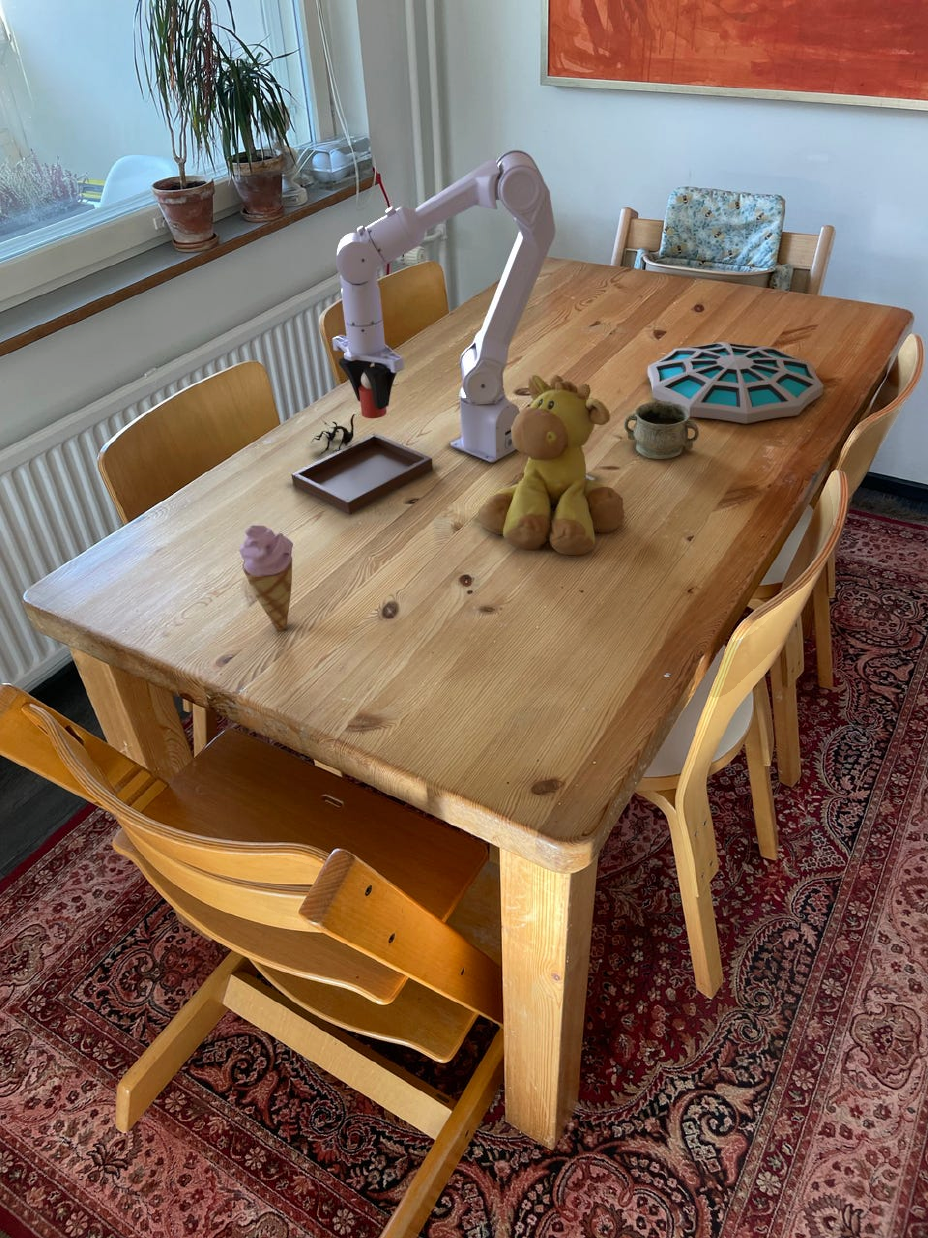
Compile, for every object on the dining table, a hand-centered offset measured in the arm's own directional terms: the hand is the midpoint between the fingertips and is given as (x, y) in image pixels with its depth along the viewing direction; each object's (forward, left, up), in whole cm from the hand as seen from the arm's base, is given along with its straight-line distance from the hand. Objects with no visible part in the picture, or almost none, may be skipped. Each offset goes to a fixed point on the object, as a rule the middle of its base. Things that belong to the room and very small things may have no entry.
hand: (373, 402), depth 150 cm
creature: (+7, +4, -9) cm, 12 cm away
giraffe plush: (-35, -3, -9) cm, 36 cm away
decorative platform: (-32, -57, -9) cm, 66 cm away
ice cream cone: (-25, +39, -9) cm, 47 cm away
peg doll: (0, 0, -2) cm, 2 cm away
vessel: (-35, -30, -9) cm, 47 cm away
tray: (-5, +7, -9) cm, 12 cm away
